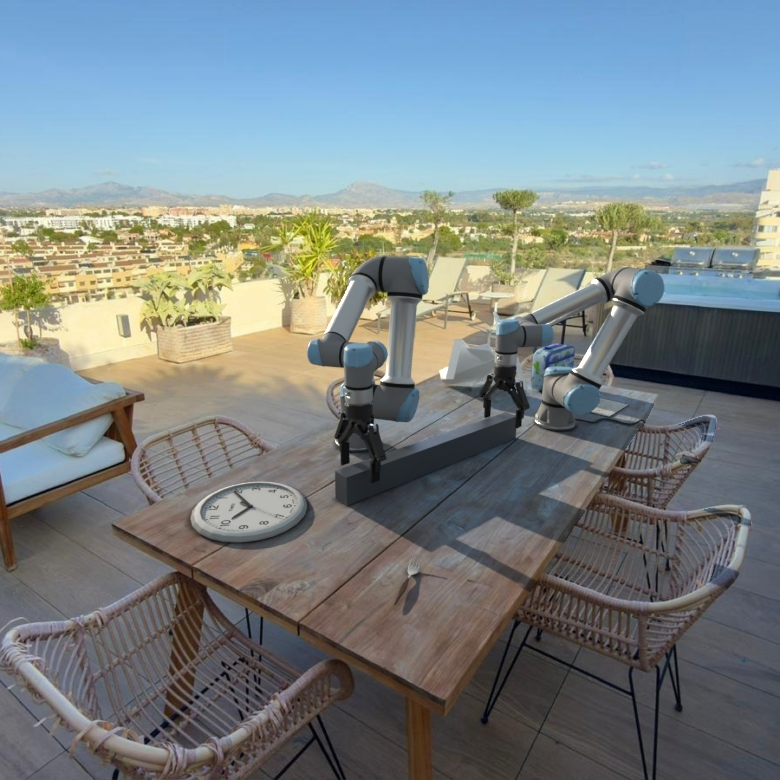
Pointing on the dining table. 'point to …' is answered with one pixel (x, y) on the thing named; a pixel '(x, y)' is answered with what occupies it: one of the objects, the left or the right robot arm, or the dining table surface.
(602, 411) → the invitation card
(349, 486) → the bar
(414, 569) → the fork
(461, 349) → the white plastic object
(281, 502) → the wall clock
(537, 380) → the lunch box
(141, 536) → the dining table surface
